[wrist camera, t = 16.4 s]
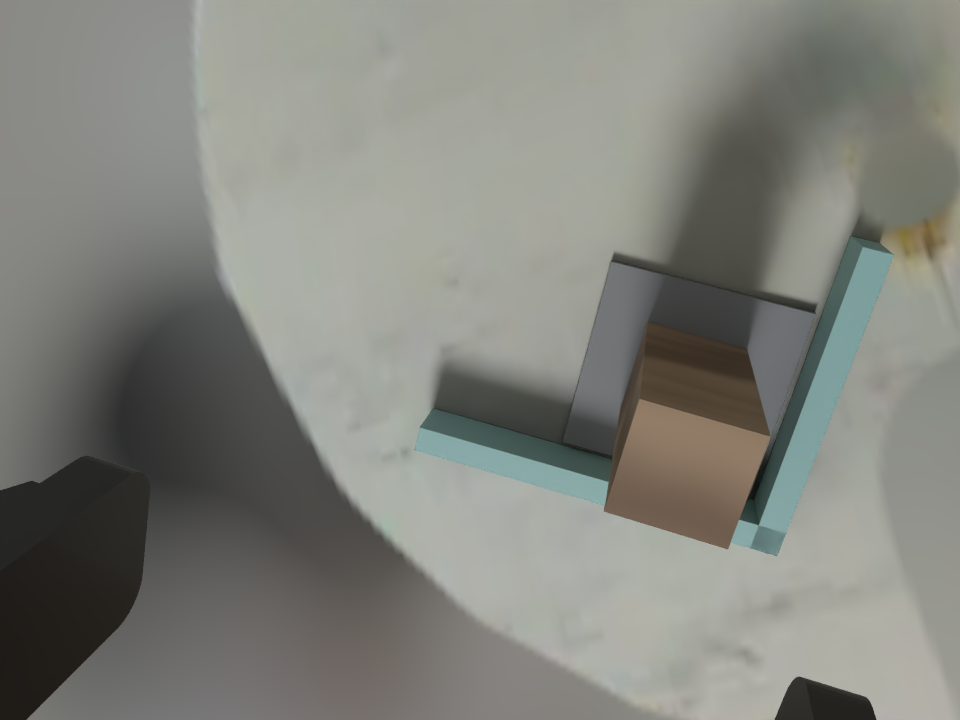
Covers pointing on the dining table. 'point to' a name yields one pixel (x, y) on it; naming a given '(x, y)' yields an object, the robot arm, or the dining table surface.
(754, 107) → the dining table surface
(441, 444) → the teal corner fixture
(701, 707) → the dining table surface
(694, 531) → the walnut block
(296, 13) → the dining table surface
